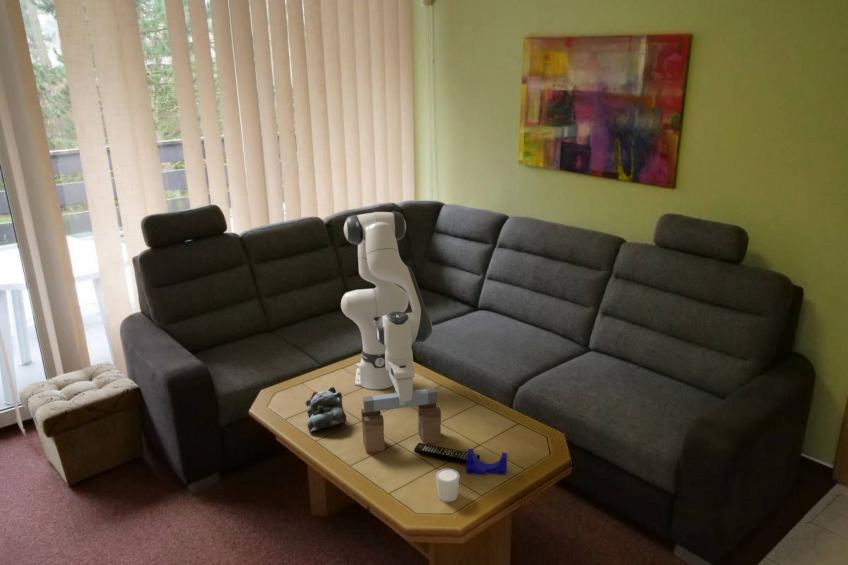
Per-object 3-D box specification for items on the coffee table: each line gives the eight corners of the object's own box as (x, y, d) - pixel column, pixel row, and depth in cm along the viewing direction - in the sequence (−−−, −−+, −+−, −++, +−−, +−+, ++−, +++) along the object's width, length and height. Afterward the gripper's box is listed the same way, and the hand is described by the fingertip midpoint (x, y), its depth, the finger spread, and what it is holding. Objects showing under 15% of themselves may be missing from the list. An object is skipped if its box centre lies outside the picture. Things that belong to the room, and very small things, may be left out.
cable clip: (466, 473, 199) (466, 456, 198) (468, 465, 204) (468, 448, 202) (505, 478, 197) (505, 461, 195) (507, 469, 201) (507, 452, 199)
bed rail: (363, 408, 212) (362, 397, 210) (435, 398, 217) (434, 387, 216) (364, 412, 209) (364, 401, 208) (437, 402, 214) (437, 391, 213)
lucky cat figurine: (300, 434, 223) (294, 393, 225) (317, 430, 234) (310, 391, 236) (339, 426, 218) (333, 385, 221) (354, 423, 230) (347, 384, 232)
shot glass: (431, 493, 190) (431, 473, 188) (451, 485, 193) (450, 465, 191) (444, 506, 184) (444, 485, 182) (464, 497, 188) (464, 477, 186)
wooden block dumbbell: (362, 440, 218) (361, 408, 214) (435, 430, 223) (434, 398, 220) (366, 453, 210) (364, 421, 207) (441, 442, 216) (440, 410, 212)
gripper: (383, 350, 217) (385, 388, 221) (395, 376, 198) (397, 417, 202) (402, 348, 218) (403, 385, 223) (415, 374, 199) (416, 414, 204)
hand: (400, 401), depth 212 cm, fingers closed on bed rail, 3 cm apart
